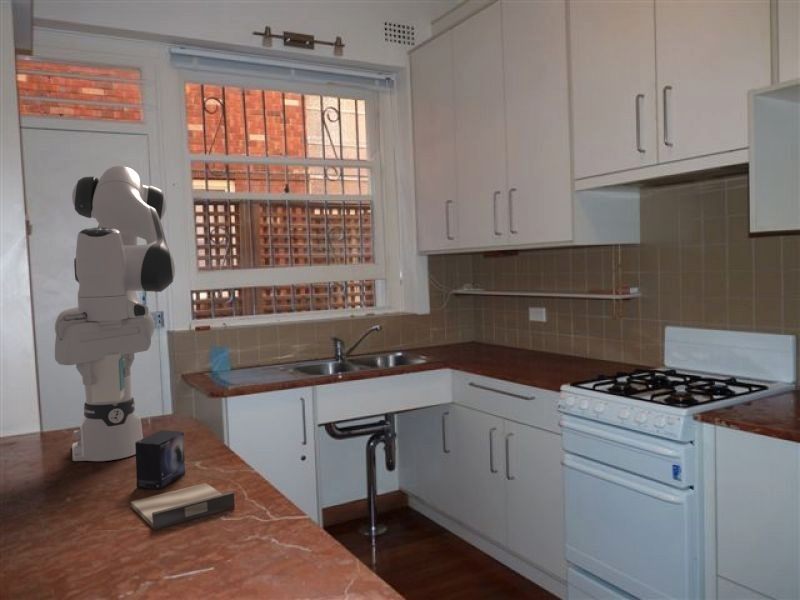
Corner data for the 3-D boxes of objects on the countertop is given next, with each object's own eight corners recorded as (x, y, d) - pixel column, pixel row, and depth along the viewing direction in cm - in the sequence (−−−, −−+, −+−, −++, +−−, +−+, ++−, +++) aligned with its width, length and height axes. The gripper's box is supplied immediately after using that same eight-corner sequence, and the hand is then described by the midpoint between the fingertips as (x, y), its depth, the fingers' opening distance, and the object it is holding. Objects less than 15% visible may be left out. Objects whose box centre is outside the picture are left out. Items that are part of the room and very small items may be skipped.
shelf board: (130, 506, 132) (130, 492, 132) (206, 487, 142) (205, 474, 142) (155, 530, 120) (154, 514, 120) (235, 507, 130) (234, 493, 130)
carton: (97, 397, 128) (94, 352, 127) (125, 395, 129) (123, 351, 129) (92, 402, 123) (89, 356, 122) (121, 400, 124) (119, 354, 124)
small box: (161, 490, 141) (159, 443, 140) (135, 488, 142) (132, 442, 141) (187, 473, 151) (185, 430, 150) (162, 472, 152) (160, 429, 152)
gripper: (68, 316, 114) (73, 392, 115) (154, 306, 133) (157, 372, 134) (44, 315, 117) (48, 390, 118) (132, 306, 135) (135, 370, 136)
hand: (107, 380), depth 126 cm, fingers closed on carton, 7 cm apart
